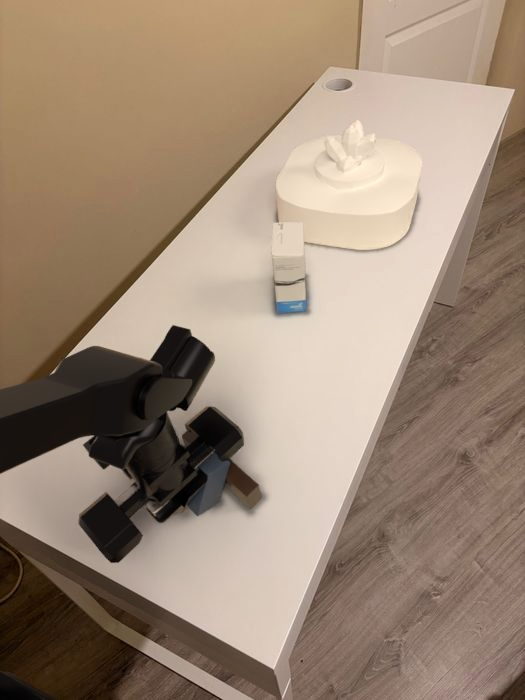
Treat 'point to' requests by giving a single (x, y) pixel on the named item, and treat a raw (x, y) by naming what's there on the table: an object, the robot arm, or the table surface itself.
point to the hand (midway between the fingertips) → (181, 507)
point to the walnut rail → (235, 479)
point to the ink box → (289, 266)
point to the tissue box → (350, 189)
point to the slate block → (210, 484)
